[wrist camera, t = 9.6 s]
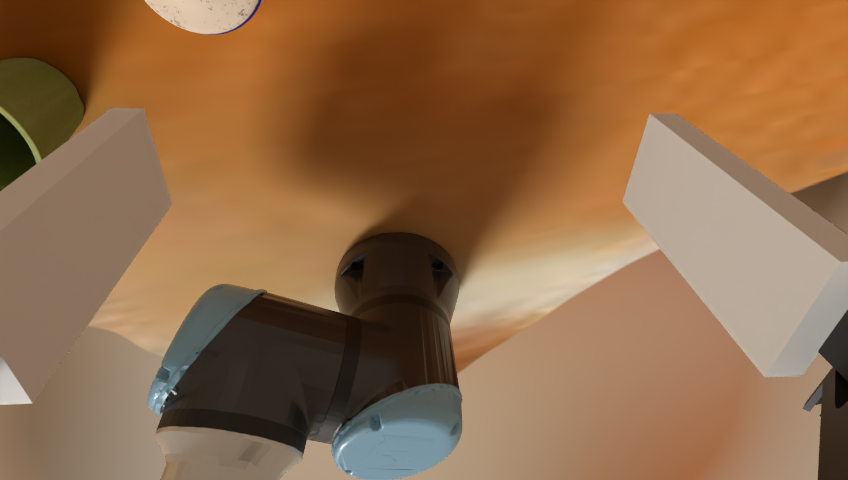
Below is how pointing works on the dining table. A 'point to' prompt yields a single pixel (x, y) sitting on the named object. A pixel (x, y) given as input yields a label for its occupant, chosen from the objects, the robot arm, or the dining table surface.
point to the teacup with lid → (206, 14)
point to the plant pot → (33, 114)
